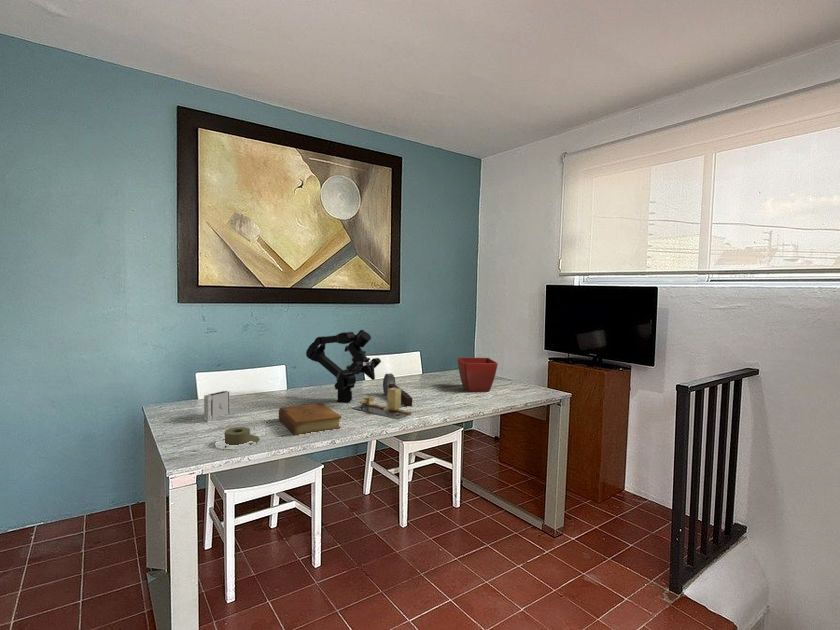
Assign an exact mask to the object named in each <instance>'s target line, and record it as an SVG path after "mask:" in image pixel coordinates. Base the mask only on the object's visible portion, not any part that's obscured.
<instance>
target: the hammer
mask: <svg viewBox="0 0 840 630" xmlns="http://www.w3.org/2000/svg"><path fill="white" fill-rule="evenodd" d="M393 387H394V388H399V389H401V405H403V406H404V407H405V406H406V408H408V407H407V406H410V407H412V406H413V397H412V396H411V394H409V393H408V392H406V390H403V389H402V388H401V387H399V386H398V385H396V378H395V375H394V374H393V373H385V374H384V377H383V380H382V390H383V394H384V395H385V396H388V389H390V388H393Z"/></svg>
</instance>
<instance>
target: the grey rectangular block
mask: <svg viewBox="0 0 840 630" xmlns="http://www.w3.org/2000/svg"><path fill="white" fill-rule="evenodd" d="M203 399H204V400H203V409H204V412H203V414H204V415H203V418H206V420H205V421H209V420H210V419H211V418H214V417H218V416H221V415H225V414H228V413H229V414H230V391H228V390H225V391H224V390H222V391H218V392H212V393H208V394H205V395H204V396H203ZM229 414H228V415H229ZM209 422H210V421H209Z"/></svg>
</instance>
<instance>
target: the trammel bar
mask: <svg viewBox="0 0 840 630" xmlns="http://www.w3.org/2000/svg"><path fill="white" fill-rule="evenodd" d="M374 401H375V400H374V397H373V396H370V395H369V396H365V397H364V399H363V400H360V401H359V404H360V405H361V407H363V405H366V406H371V407H375V408H380V409H383V408H386V407H387V405H386V406H384V405H381V404H376V403H375V404H374ZM388 410H389V411H394V412H399V413H403V414H408V416H411V415H412V411H411V410H410V411H409V410H406V409H405V410H404V409H401V408H400V409H397V410H392V409H388Z"/></svg>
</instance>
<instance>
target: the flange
mask: <svg viewBox="0 0 840 630" xmlns="http://www.w3.org/2000/svg"><path fill="white" fill-rule="evenodd" d="M224 437H225V443H226V444H229V445H239V444H244V443H247V442H249V441H253V442H256V443H257V442H258V441H259V440H260V439H261V438H260V437H259V436H258V435H254V434H251V429H250V428H249V427H244V426H237V427H232V428H228V429H226V430H225V431H224ZM259 442H260V441H259Z"/></svg>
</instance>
